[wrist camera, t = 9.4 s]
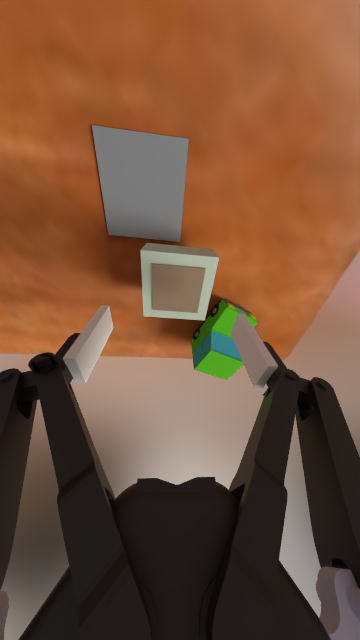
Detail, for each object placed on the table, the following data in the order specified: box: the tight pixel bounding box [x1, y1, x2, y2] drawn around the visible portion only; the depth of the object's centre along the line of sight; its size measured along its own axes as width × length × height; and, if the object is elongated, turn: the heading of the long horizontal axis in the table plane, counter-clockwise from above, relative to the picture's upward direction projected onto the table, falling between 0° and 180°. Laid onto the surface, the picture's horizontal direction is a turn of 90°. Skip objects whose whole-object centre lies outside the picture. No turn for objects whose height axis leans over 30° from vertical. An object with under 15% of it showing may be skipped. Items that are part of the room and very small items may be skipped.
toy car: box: [191, 299, 258, 380], centre depth 34 cm, size 10×13×10 cm
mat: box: [92, 125, 189, 242], centre depth 23 cm, size 12×12×1 cm
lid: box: [140, 243, 219, 320], centre depth 25 cm, size 10×10×5 cm
